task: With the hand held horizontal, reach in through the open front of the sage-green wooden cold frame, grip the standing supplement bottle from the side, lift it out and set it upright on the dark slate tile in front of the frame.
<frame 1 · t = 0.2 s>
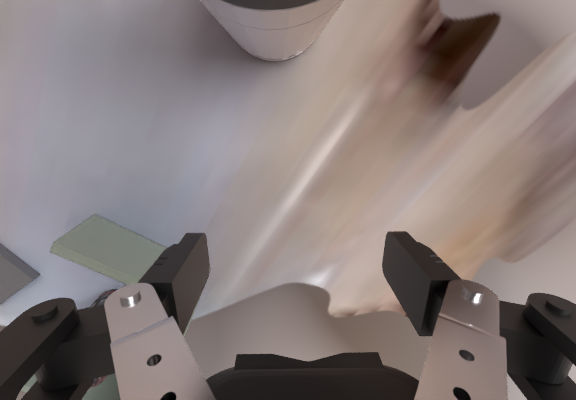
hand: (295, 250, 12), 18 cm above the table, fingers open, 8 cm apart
cold frame: (122, 306, 35), on the table
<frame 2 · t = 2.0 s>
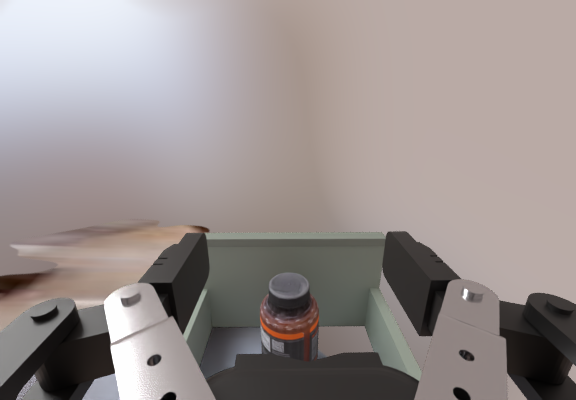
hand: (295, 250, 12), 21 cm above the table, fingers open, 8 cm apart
supplement bottle: (289, 370, 30), on the table
cold frame: (289, 369, 30), on the table
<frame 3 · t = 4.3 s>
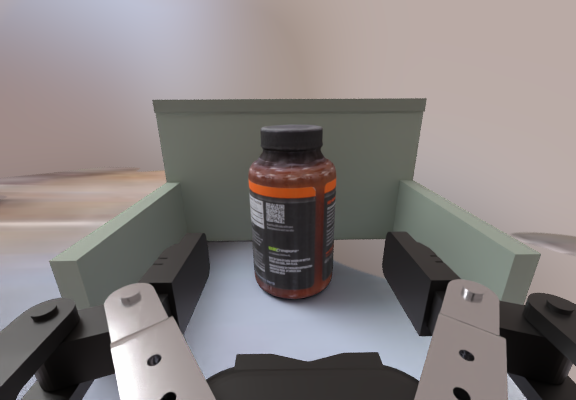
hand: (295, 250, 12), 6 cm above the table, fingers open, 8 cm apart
supplement bottle: (292, 279, 21), on the table
cold frame: (292, 276, 21), on the table
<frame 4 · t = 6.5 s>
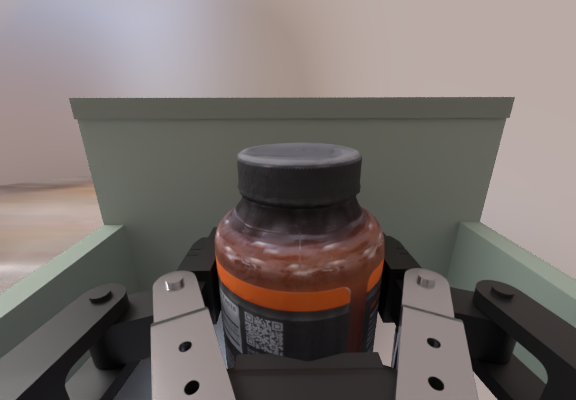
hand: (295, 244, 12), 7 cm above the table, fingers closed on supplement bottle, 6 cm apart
supplement bottle: (296, 399, 12), on the table, touching gripper
cold frame: (297, 396, 12), on the table
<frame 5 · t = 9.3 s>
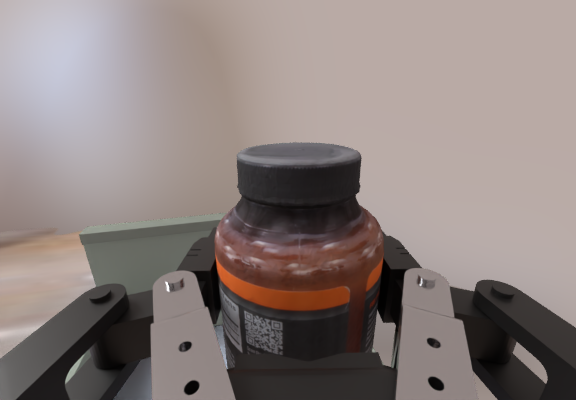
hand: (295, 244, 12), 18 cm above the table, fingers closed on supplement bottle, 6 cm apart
supplement bottle: (296, 398, 13), point 11 cm above the table, touching gripper
cold frame: (227, 372, 25), on the table
when the fingers open (9 cm above the table, at t = 12.2 s): supplement bottle drops 1 cm, resting on slate tile.
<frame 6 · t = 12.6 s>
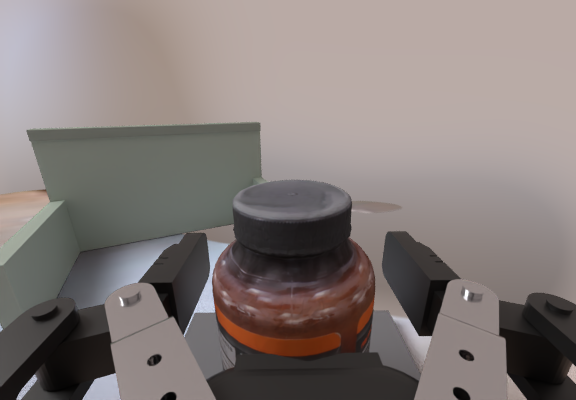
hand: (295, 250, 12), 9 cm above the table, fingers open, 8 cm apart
cold frame: (181, 257, 28), on the table
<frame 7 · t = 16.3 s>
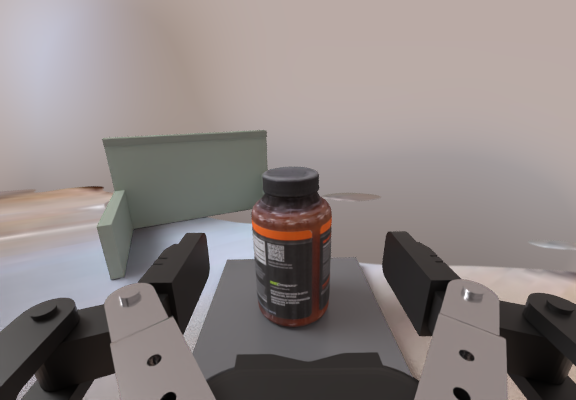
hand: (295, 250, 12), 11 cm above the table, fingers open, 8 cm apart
slate tile: (293, 312, 23), on the table
supplement bottle: (293, 305, 23), point 1 cm above the table, touching slate tile
cold frame: (210, 231, 38), on the table
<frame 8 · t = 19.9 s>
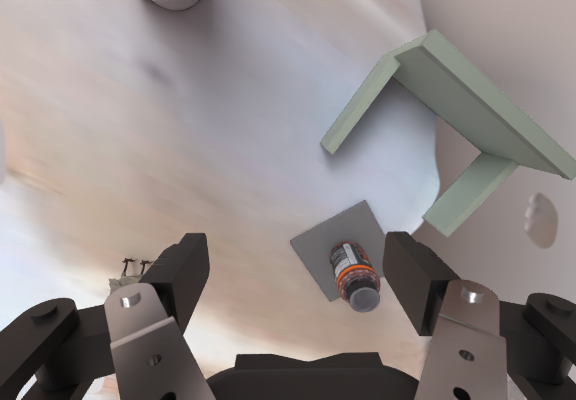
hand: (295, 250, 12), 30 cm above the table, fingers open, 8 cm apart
slate tile: (345, 252, 47), on the table
decorative bird: (142, 290, 49), on the table
supplement bottle: (346, 254, 46), point 1 cm above the table, touching slate tile
cold frame: (406, 147, 41), on the table
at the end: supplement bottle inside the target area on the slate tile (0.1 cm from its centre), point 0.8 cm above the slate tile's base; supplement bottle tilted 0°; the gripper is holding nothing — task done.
